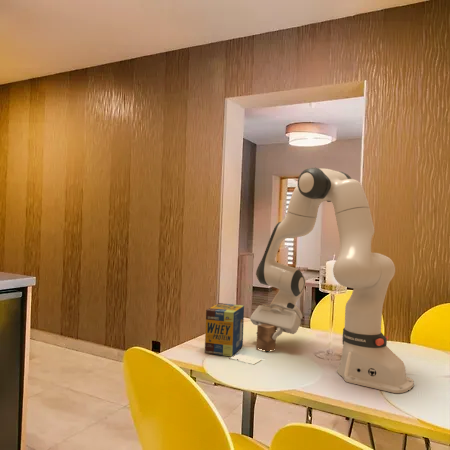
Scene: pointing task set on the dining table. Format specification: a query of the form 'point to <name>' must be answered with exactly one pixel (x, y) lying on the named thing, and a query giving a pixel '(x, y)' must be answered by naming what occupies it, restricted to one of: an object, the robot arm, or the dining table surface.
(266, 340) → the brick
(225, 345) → the protein box
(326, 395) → the dining table surface
